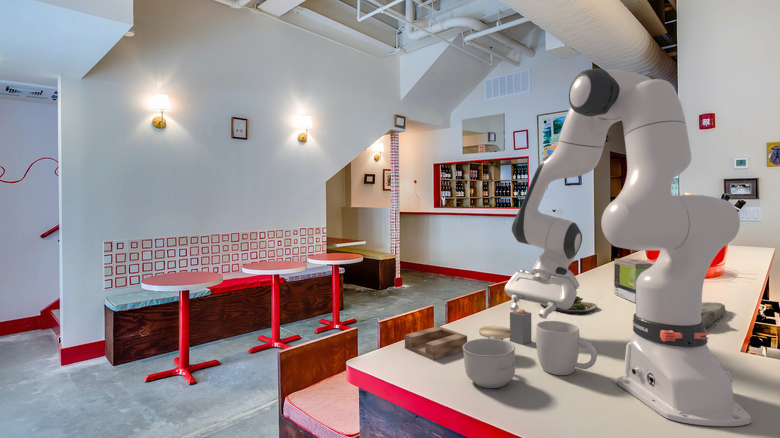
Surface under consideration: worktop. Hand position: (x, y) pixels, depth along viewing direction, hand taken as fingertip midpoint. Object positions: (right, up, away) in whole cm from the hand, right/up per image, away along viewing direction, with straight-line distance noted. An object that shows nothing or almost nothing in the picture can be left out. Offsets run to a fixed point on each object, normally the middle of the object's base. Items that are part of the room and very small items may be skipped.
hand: (526, 313), depth 115 cm
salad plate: (+25, -6, +33) cm, 41 cm away
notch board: (-26, -8, -6) cm, 28 cm away
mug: (+1, -8, -22) cm, 24 cm away
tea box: (+56, -5, +44) cm, 72 cm away
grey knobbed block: (-2, -7, -2) cm, 8 cm away
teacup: (-16, -9, -25) cm, 31 cm away
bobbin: (-11, -8, -11) cm, 17 cm away
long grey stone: (+60, -6, +16) cm, 63 cm away
